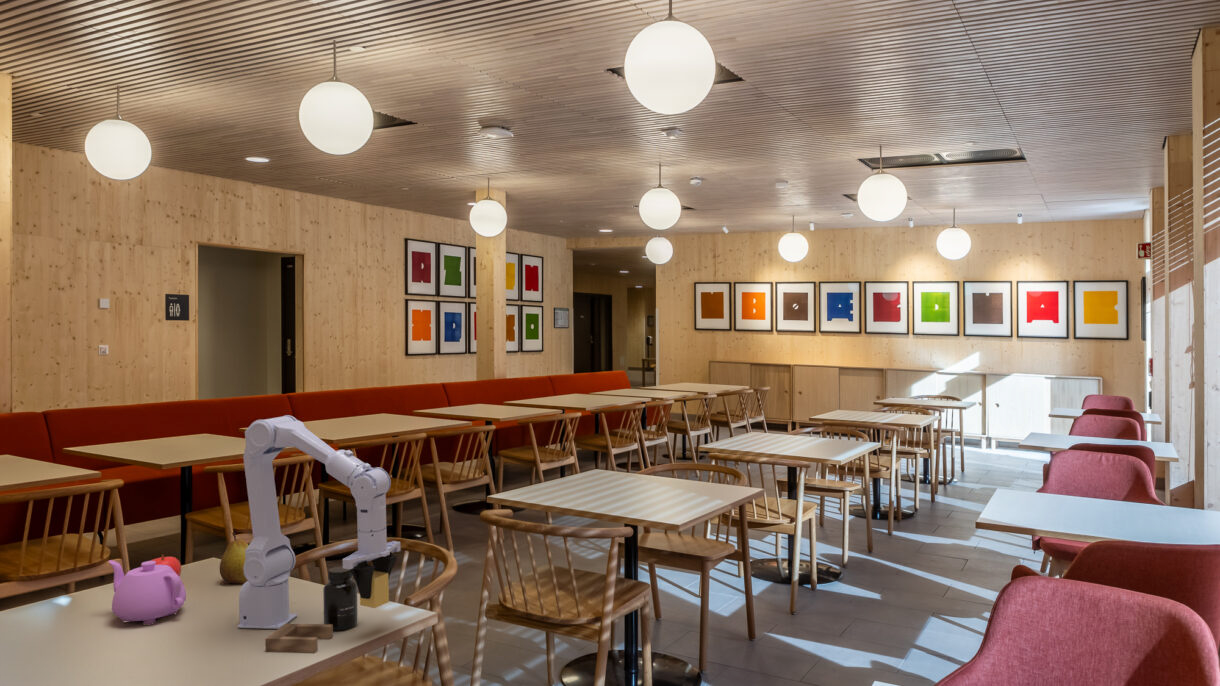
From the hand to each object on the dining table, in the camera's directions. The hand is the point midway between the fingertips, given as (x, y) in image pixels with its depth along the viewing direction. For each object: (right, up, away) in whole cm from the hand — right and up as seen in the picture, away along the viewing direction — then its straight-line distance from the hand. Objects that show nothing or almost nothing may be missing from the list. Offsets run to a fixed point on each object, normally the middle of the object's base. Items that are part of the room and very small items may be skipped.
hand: (373, 594), depth 166 cm
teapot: (-54, -9, +12) cm, 56 cm away
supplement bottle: (-8, -8, +4) cm, 12 cm away
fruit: (-44, -8, +36) cm, 58 cm away
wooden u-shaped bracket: (-13, -8, -5) cm, 16 cm away
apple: (-61, -9, +33) cm, 70 cm away
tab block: (0, -2, 0) cm, 2 cm away
